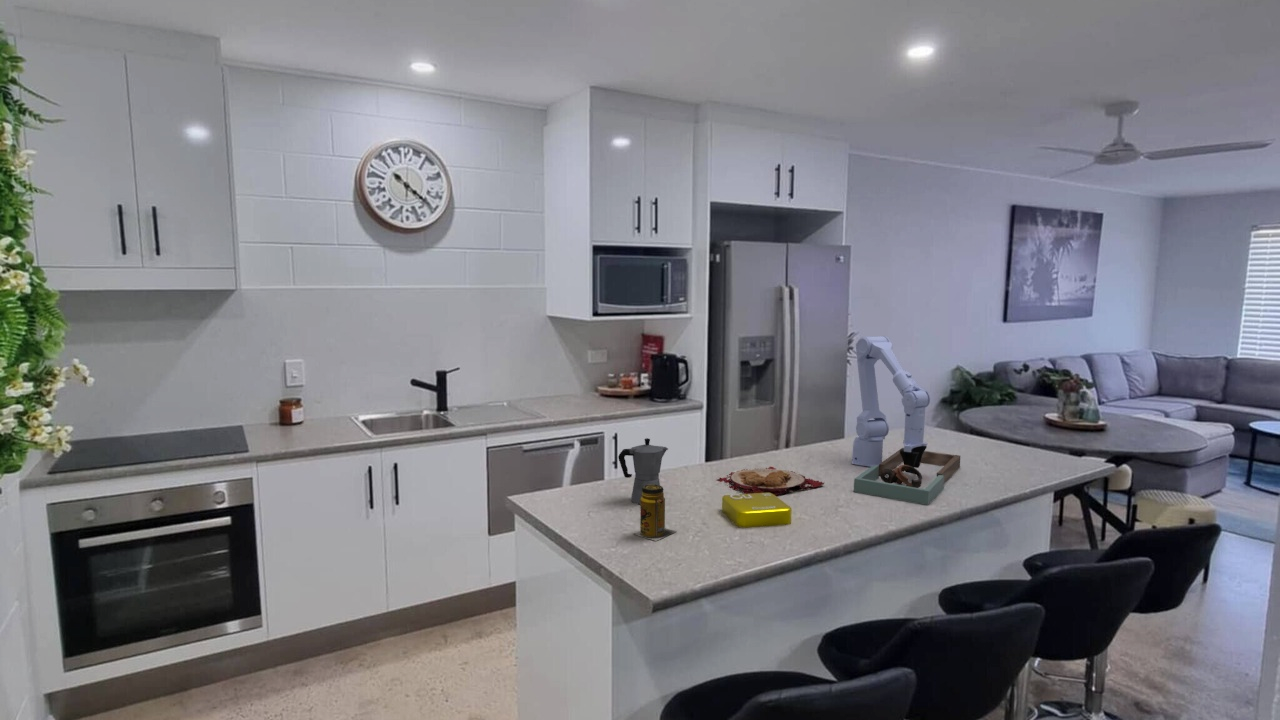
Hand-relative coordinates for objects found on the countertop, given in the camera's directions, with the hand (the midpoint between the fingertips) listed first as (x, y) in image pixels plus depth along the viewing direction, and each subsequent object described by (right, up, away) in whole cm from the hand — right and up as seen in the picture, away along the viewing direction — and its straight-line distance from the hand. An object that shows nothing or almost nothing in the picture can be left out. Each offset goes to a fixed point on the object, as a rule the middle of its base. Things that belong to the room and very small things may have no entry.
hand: (912, 469), depth 218 cm
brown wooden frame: (+6, -2, +8) cm, 10 cm away
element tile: (-56, -7, -36) cm, 67 cm away
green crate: (-8, -4, -11) cm, 14 cm away
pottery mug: (-8, -4, -10) cm, 13 cm away
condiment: (-83, -8, -48) cm, 96 cm away
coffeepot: (-86, -5, -23) cm, 89 cm away
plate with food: (-48, -4, -5) cm, 48 cm away
